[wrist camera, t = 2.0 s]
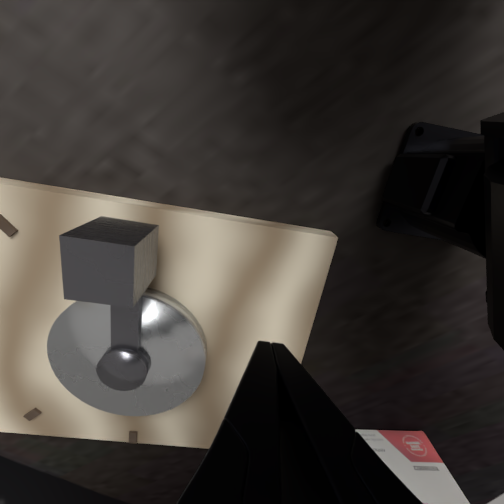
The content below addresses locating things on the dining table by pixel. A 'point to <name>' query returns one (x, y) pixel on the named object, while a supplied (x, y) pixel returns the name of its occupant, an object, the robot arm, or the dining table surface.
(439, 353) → the dining table surface
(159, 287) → the dial board
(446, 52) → the dining table surface
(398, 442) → the ink cartridge box
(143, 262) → the dial
